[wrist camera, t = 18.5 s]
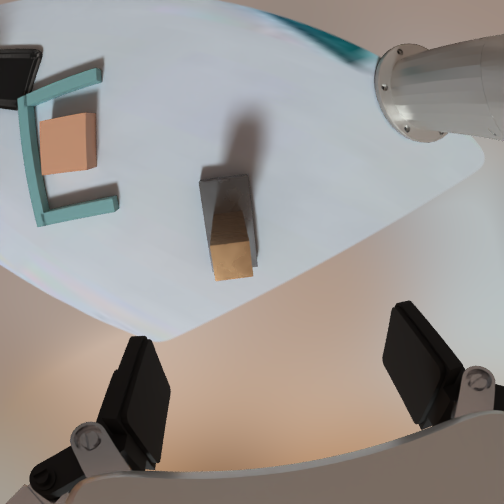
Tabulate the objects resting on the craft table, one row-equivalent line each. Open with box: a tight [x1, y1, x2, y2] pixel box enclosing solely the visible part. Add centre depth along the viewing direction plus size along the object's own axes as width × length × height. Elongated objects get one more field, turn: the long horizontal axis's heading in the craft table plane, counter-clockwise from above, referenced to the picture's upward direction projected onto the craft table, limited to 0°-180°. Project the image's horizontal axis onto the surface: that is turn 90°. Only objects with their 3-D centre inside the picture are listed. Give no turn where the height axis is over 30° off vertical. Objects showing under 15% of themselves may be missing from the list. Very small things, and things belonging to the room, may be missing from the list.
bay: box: [18, 68, 119, 227], centre depth 27 cm, size 11×16×2 cm
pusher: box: [199, 174, 258, 281], centre depth 29 cm, size 10×5×11 cm, turn 6°
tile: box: [40, 113, 97, 175], centre depth 27 cm, size 6×6×3 cm
